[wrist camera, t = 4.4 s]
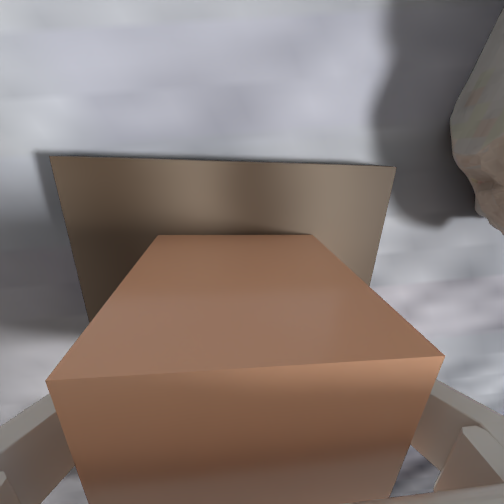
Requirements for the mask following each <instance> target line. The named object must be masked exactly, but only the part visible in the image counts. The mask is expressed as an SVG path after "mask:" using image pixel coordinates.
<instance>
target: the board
mask: <svg viewBox="0 0 504 504" xmlns="http://www.w3.org/2000/svg"><path fill="white" fill-rule="evenodd" d="M49 158H50V162H51V166H52V170H53V174H54V178H55V182H56V186H57V191H58V195H59V199H60V203H61V207H62V211H63V215H64V219H65V224H66V228H67V232H68V236H69V240H70V244H71V248H72V252H73V257H74V261H75V265H76V269H77V273H78V277H79V281H80V285H81V290H82V294H83V298H84V302H85V306H86V310H87V314H88V318H89V323H90V322H91V321H92V320H93V318H94V317H95V316H96V314H97V313H98V312H99V311H100V309H101V308H102V307H103V305H104V304H105V303H106V302H107V300H108V299H109V298H110V296H111V295H112V294H113V293H114V291H115V290H116V289H117V287H118V286H119V285H120V283H121V282H122V281H123V280H124V278H125V277H126V276H127V274H128V273H129V272H130V271H131V269H132V268H133V267H134V265H135V264H136V263H137V262H138V260H139V259H140V258H141V256H142V255H143V254H144V252H145V251H146V250H147V249H148V247H149V246H150V245H151V243H152V242H153V241H154V240H155V238H156V237H157V236H158V235H313V236H314V237H315V238H317V239H318V240H319V241H320V242H321V243H322V244H323V245H324V246H325V247H326V248H327V249H329V250H330V251H331V252H332V253H333V254H334V255H335V256H336V257H337V258H338V259H340V260H341V261H342V262H343V263H344V264H345V265H346V266H347V267H348V268H349V269H350V270H352V271H353V272H354V273H355V274H356V275H357V276H358V277H359V278H360V279H361V280H363V281H364V282H365V283H366V284H367V285H368V286H370V281H371V277H372V273H373V268H374V264H375V260H376V255H377V251H378V246H379V242H380V238H381V233H382V229H383V225H384V220H385V216H386V212H387V207H388V203H389V198H390V194H391V190H392V185H393V181H394V177H395V172H396V168H397V167H391V166H379V165H347V164H315V163H283V162H251V161H219V160H187V159H155V158H123V157H91V156H49Z"/></svg>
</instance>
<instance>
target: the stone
mask: <svg viewBox="0 0 504 504" xmlns="http://www.w3.org/2000/svg"><path fill="white" fill-rule="evenodd" d="M450 132H451V141H452V152H453V158H454V160H455V162H456V163H457V165H458V167H459V168H460V169H461V170H462V171H463V172H464V173H465V174H466V176H467V178H468V180H469V181H470V183H471V185H472V187H473V190H474V192H475V210H476V212H477V213H478V215H480V216H483V217H485V218H487V219H488V221H489V223H490V224H491V225H492V226H493V227H494V228H496V229H498V230H500V231H501V232H502V234H503V235H504V8H503V10H502V12H501V14H500V16H499V18H498V20H497V22H496V24H495V26H494V28H493V30H492V32H491V34H490V36H489V38H488V40H487V42H486V44H485V46H484V48H483V50H482V52H481V54H480V57H479V59H478V61H477V63H476V65H475V67H474V69H473V71H472V73H471V75H470V77H469V79H468V81H467V83H466V84H465V86H464V88H463V90H462V92H461V94H460V96H459V98H458V100H457V102H456V104H455V106H454V110H453V112H452V115H451V117H450Z"/></svg>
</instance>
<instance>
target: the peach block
mask: <svg viewBox="0 0 504 504" xmlns="http://www.w3.org/2000/svg"><path fill="white" fill-rule="evenodd" d="M444 358H445V355H444V354H443V353H441V352H440V351H439V350H438V349H437V348H436V347H435V346H434V345H433V344H432V343H430V342H429V341H428V340H427V339H426V338H425V337H424V336H423V335H422V334H421V333H420V332H418V331H417V330H416V329H415V328H414V327H413V326H412V325H411V324H410V323H409V322H407V321H406V320H405V319H404V318H403V317H402V316H401V315H400V314H399V313H398V312H397V311H395V310H394V309H393V308H392V307H391V306H390V305H389V304H388V303H387V302H386V301H384V300H383V299H382V298H381V297H380V296H379V295H378V294H377V293H376V292H375V291H373V290H372V289H371V288H370V287H369V286H368V285H367V284H366V283H365V282H364V281H363V280H361V279H360V278H359V277H358V276H357V275H356V274H355V273H354V272H353V271H352V270H350V269H349V268H348V267H347V266H346V265H345V264H344V263H343V262H342V261H341V260H340V259H338V258H337V257H336V256H335V255H334V254H333V253H332V252H331V251H330V250H329V249H327V248H326V247H325V246H324V245H323V244H322V243H321V242H320V241H319V240H318V239H317V238H315V237H314V236H313V235H158V236H157V237H156V238H155V240H154V241H153V242H152V243H151V245H150V246H149V247H148V249H147V250H146V251H145V252H144V254H143V255H142V256H141V258H140V259H139V260H138V262H137V263H136V264H135V265H134V267H133V268H132V269H131V271H130V272H129V273H128V274H127V276H126V277H125V278H124V280H123V281H122V282H121V283H120V285H119V286H118V287H117V289H116V290H115V291H114V293H113V294H112V295H111V296H110V298H109V299H108V300H107V302H106V303H105V304H104V305H103V307H102V308H101V309H100V311H99V312H98V313H97V314H96V316H95V317H94V318H93V320H92V321H91V322H90V324H89V325H88V326H87V327H86V329H85V330H84V331H83V333H82V334H81V335H80V336H79V338H78V339H77V340H76V342H75V343H74V344H73V345H72V347H71V348H70V349H69V351H68V352H67V353H66V355H65V356H64V357H63V358H62V360H61V361H60V362H59V364H58V365H57V366H56V367H55V369H54V370H53V371H52V373H51V374H50V375H49V377H48V378H47V379H46V380H45V381H46V384H47V387H48V390H49V393H50V395H51V398H52V401H53V404H54V407H55V410H56V412H57V415H58V418H59V421H60V424H61V427H62V429H63V432H64V435H65V438H66V441H67V444H68V446H69V449H70V452H71V455H72V458H73V461H74V463H75V466H76V469H77V472H78V475H79V478H80V480H81V483H82V486H83V489H84V492H85V495H86V497H87V500H88V503H89V504H344V503H352V502H360V501H368V500H376V499H384V498H389V497H390V494H391V492H392V489H393V486H394V484H395V481H396V479H397V476H398V474H399V471H400V469H401V466H402V464H403V461H404V459H405V456H406V454H407V451H408V449H409V446H410V444H411V441H412V438H413V436H414V433H415V431H416V428H417V426H418V423H419V421H420V418H421V416H422V413H423V411H424V408H425V406H426V403H427V401H428V398H429V396H430V393H431V390H432V388H433V385H434V383H435V380H436V378H437V375H438V373H439V370H440V368H441V365H442V363H443V360H444Z"/></svg>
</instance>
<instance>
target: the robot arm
mask: <svg viewBox="0 0 504 504" xmlns="http://www.w3.org/2000/svg"><path fill="white" fill-rule="evenodd" d="M410 445H412V446H413V447H414V448H415V449H416V450H417V451H418V452H419V453H421V454H422V455H423V456H424V457H425V458H426V459H427V460H428V461H430V462H431V463H432V464H433V465H434V466H435V467H436V468H437V469H439V470H440V471H441V472H440V474H439V476H438V478H437V480H436V482H435V484H434V489H433V491H434V492H431V493H423V494H415V495H407V496H399V497H391V498H384V499H376V500H368V501H360V502H352V503H344V504H504V416H503V415H501V414H499V413H497V412H495V411H493V410H492V409H490V408H488V407H486V406H484V405H482V404H481V403H479V402H477V401H475V400H473V399H471V398H470V397H468V396H466V395H464V394H462V393H460V392H459V391H457V390H455V389H453V388H451V387H449V386H448V385H446V384H444V383H442V382H440V381H438V380H437V379H436V380H435V383H434V385H433V388H432V390H431V393H430V396H429V398H428V401H427V403H426V406H425V408H424V411H423V413H422V416H421V418H420V421H419V423H418V426H417V428H416V431H415V433H414V436H413V438H412V441H411V444H410ZM74 466H75V463H74V461H73V458H72V455H71V452H70V449H69V446H68V444H67V441H66V438H65V435H64V432H63V429H62V427H61V424H60V421H59V418H58V415H57V412H56V410H55V407H54V404H53V401H52V398H51V395H50V393H49V394H48V395H46V396H45V397H43V398H42V399H40V400H39V401H37V402H36V403H34V404H33V405H31V406H30V407H28V408H27V409H26V410H24V411H23V412H21V413H20V414H18V415H17V416H15V417H14V418H12V419H11V420H9V421H8V422H6V423H5V424H3V425H2V426H0V504H40V503H41V502H42V501H43V500H44V499H45V498H46V497H47V496H48V495H49V493H50V492H51V491H52V490H53V489H54V488H55V487H56V486H57V485H58V484H59V482H60V481H61V480H62V479H63V478H64V477H65V476H66V475H67V474H68V473H69V471H70V470H71V469H72V468H73V467H74Z"/></svg>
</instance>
